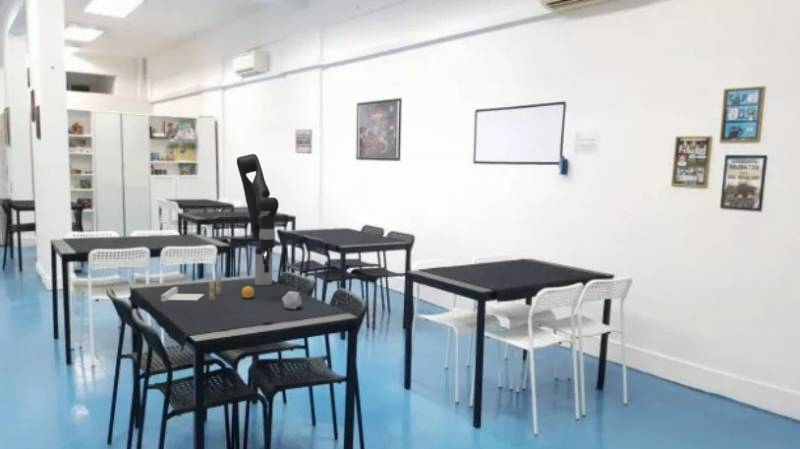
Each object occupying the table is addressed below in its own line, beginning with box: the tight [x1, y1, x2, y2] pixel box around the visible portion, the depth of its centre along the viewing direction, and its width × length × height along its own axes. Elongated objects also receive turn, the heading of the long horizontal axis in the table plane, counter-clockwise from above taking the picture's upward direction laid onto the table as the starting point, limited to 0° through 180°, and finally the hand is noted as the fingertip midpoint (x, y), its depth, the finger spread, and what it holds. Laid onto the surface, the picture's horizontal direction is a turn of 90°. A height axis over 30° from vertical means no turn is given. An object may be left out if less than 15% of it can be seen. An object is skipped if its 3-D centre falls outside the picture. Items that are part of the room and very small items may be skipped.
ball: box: [241, 285, 255, 299], centre depth 299 cm, size 6×6×6 cm
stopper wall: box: [160, 286, 179, 302], centre depth 296 cm, size 20×2×3 cm, turn 4°
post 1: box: [208, 281, 216, 302], centre depth 291 cm, size 2×2×9 cm
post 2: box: [215, 276, 222, 296], centre depth 304 cm, size 2×2×9 cm
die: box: [281, 290, 303, 311], centre depth 280 cm, size 8×9×10 cm
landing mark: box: [167, 293, 205, 301], centre depth 297 cm, size 14×14×1 cm
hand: (266, 272), depth 298 cm, fingers closed
